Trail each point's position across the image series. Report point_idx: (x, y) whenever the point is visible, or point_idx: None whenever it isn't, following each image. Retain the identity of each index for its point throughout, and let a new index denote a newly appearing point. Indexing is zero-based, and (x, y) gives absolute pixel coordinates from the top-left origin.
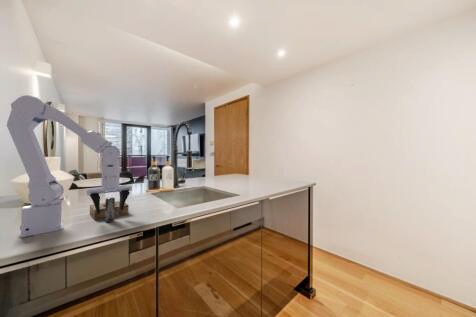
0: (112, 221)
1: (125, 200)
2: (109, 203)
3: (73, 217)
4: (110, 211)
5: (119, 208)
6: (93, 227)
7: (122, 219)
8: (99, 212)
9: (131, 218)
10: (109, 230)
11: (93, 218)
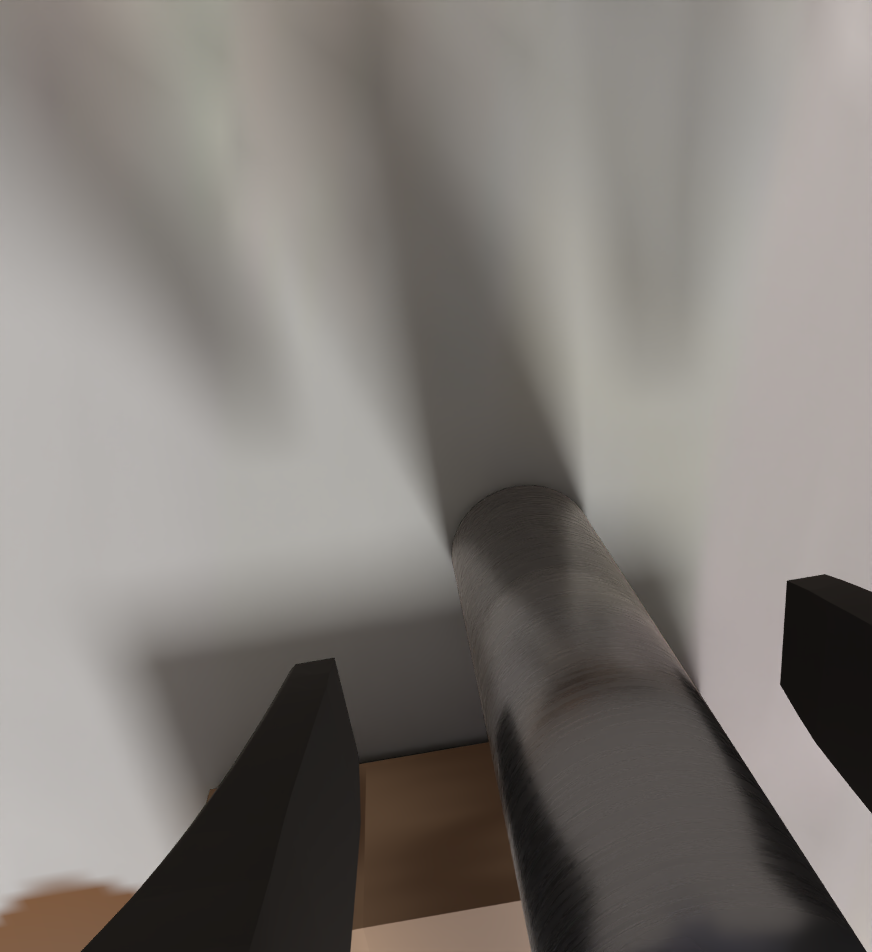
0: (484, 500)
1: (167, 860)
2: (689, 758)
3: (868, 932)
4: (575, 595)
5: None
6: (773, 378)
7: (316, 569)
8: (806, 587)
9: (161, 550)
10: (588, 8)
11: None
